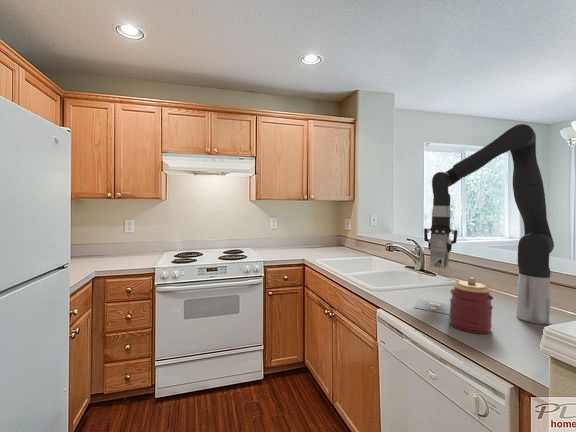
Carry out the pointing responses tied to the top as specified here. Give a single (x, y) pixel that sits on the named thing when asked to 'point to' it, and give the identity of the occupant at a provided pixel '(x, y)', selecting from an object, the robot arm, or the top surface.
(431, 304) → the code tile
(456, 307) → the canister
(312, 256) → the top surface
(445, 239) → the coffee box
